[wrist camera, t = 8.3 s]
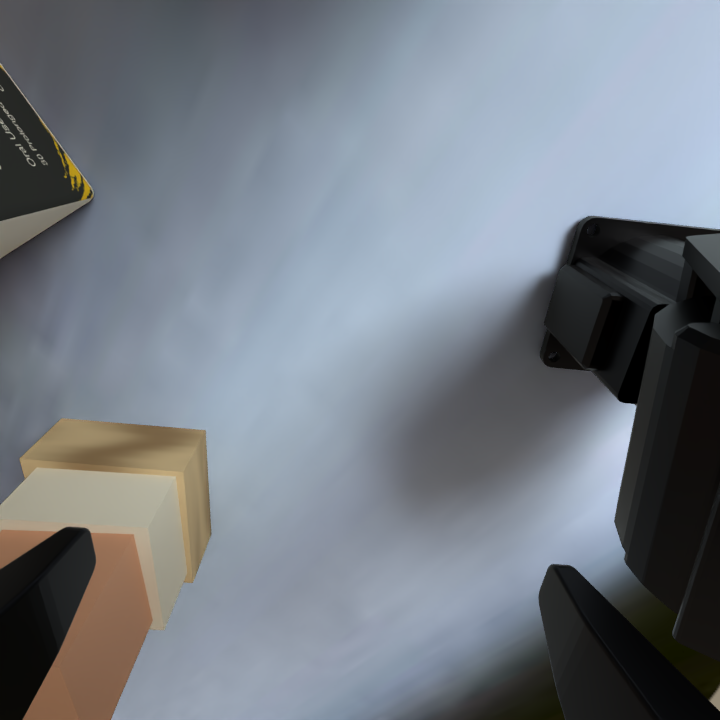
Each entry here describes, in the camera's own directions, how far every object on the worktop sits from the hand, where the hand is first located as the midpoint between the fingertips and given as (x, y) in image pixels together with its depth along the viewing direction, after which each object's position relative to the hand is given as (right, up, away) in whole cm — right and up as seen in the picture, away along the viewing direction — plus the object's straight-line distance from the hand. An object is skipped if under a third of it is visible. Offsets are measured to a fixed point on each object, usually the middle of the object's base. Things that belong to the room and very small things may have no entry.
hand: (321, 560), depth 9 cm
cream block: (-11, -4, +13) cm, 17 cm away
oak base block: (-11, -2, +16) cm, 19 cm away
